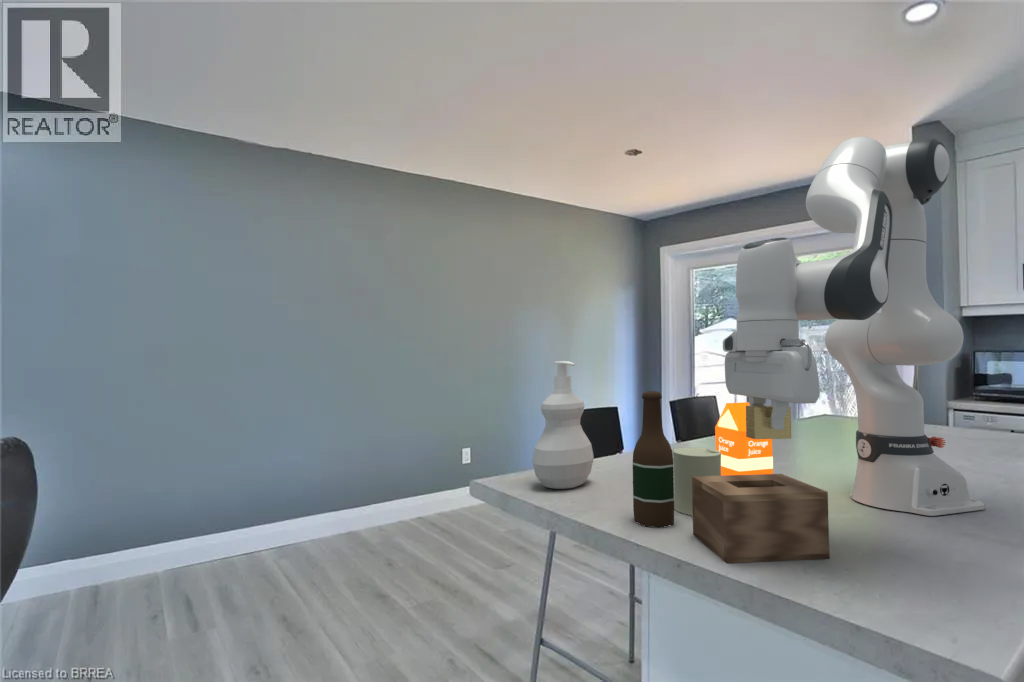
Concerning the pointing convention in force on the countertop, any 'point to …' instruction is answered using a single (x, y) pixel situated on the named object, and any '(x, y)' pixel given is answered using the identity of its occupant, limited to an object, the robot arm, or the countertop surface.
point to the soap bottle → (562, 437)
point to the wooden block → (765, 423)
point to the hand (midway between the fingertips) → (768, 427)
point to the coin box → (760, 518)
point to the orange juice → (741, 444)
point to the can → (692, 473)
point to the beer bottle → (653, 468)
